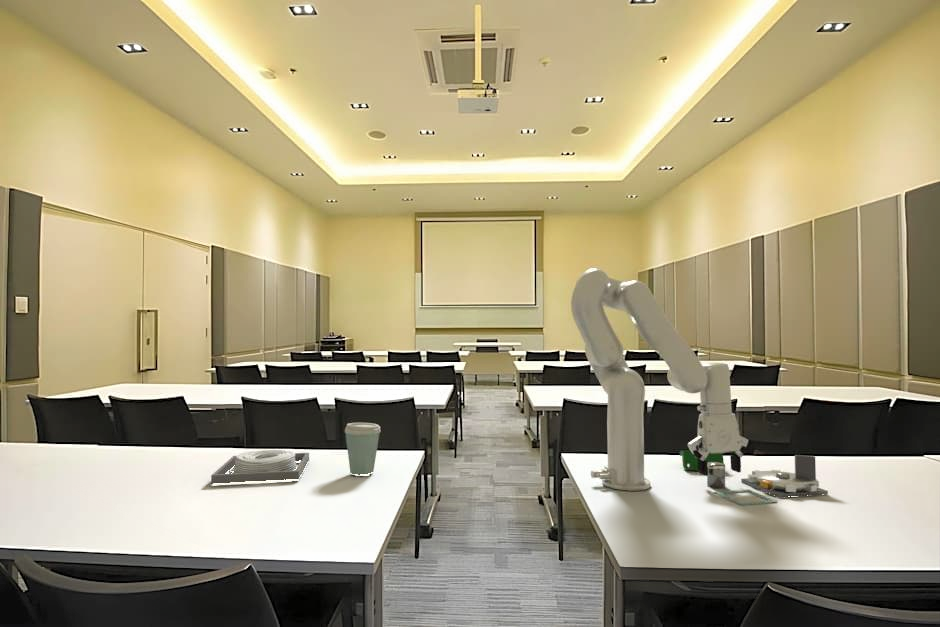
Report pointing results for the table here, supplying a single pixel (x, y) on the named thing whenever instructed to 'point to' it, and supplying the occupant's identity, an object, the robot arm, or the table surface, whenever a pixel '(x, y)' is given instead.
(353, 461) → the disposable coffee cup
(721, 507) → the table surface
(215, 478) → the cable tray
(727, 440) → the robot arm
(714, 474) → the silver metal cylinder
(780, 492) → the sprocket base
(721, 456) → the green mounting bracket
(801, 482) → the sprocket
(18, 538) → the table surface
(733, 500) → the seat bay
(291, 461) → the cable
